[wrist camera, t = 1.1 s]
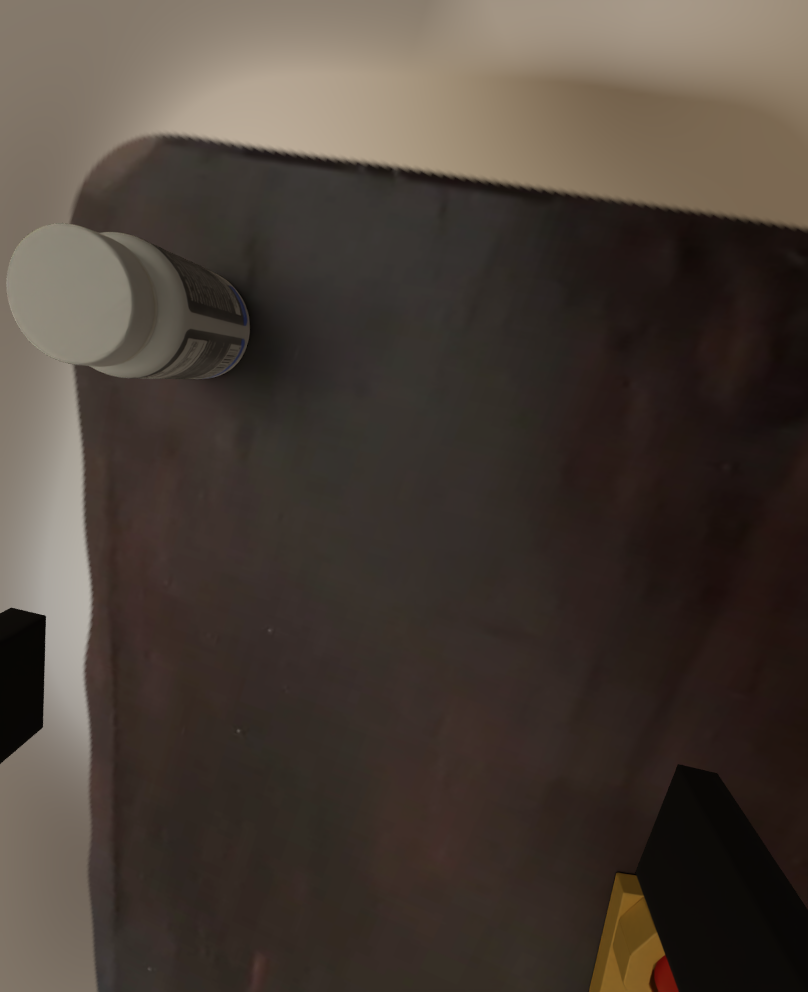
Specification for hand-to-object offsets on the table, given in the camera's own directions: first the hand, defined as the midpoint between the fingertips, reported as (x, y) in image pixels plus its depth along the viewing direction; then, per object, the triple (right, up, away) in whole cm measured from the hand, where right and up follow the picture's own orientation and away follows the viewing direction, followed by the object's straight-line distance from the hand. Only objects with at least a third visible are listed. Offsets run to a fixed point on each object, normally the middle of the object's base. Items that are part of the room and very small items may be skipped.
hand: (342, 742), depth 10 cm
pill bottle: (-8, +13, +13) cm, 20 cm away
